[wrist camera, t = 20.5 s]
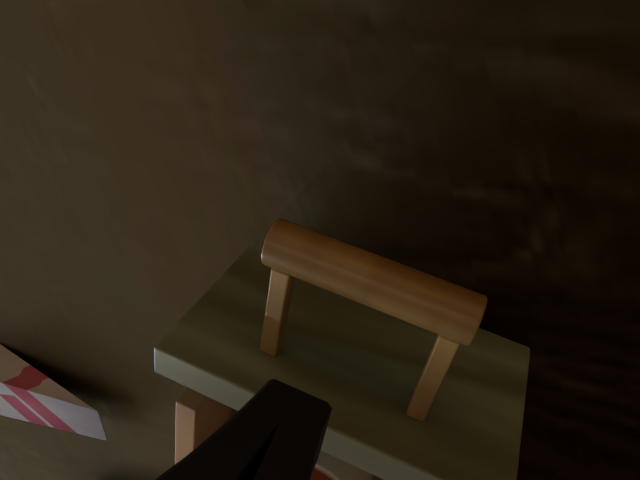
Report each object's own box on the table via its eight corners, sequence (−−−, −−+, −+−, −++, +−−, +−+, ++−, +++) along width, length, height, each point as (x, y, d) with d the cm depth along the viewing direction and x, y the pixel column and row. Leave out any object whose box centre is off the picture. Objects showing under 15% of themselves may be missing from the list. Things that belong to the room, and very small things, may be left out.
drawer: (267, 130, 19) (150, 219, 14) (592, 241, 17) (599, 399, 12) (231, 432, 30) (157, 547, 25) (427, 526, 28) (391, 676, 22)
